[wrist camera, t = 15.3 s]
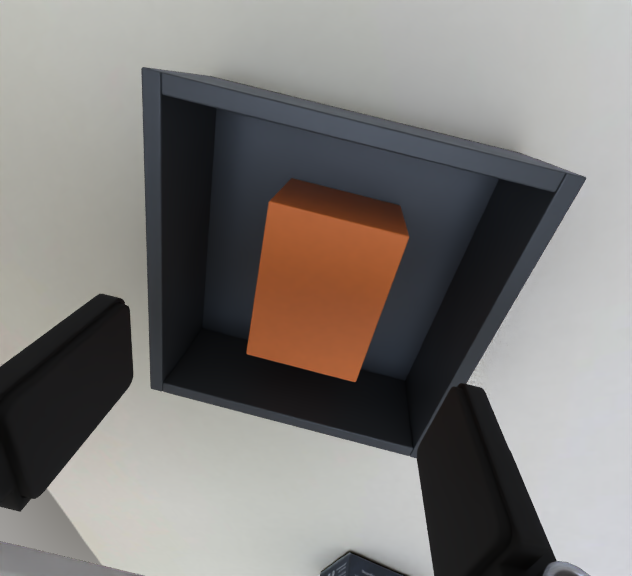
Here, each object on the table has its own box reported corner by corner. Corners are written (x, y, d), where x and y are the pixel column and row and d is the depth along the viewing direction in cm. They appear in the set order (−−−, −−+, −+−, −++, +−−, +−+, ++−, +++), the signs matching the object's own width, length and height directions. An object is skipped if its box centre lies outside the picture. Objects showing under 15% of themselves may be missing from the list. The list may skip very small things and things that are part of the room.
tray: (196, 327, 21) (150, 388, 17) (210, 76, 15) (140, 66, 10) (411, 383, 21) (421, 460, 16) (520, 153, 14) (587, 177, 10)
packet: (268, 307, 19) (245, 354, 16) (291, 177, 16) (268, 200, 12) (358, 330, 19) (355, 383, 15) (401, 205, 16) (410, 236, 12)
